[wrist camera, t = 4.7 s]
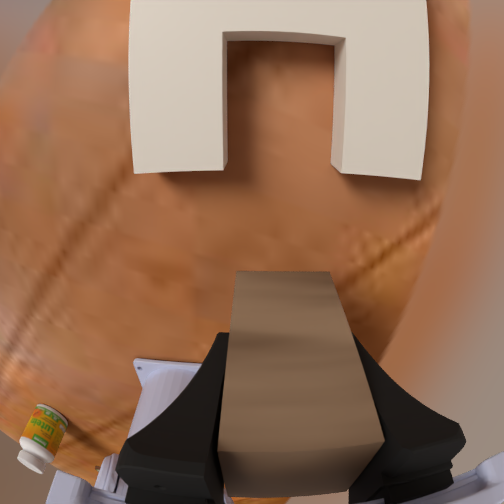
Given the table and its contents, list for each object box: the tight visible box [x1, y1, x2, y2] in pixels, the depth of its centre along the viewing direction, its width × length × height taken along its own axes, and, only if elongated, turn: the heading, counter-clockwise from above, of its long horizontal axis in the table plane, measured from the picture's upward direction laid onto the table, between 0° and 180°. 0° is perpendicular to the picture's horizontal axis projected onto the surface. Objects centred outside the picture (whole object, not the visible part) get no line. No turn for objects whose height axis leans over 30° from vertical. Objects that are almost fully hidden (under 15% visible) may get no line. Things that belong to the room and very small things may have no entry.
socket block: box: [129, 0, 429, 180], centre depth 13 cm, size 15×16×2 cm
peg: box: [217, 271, 385, 498], centre depth 12 cm, size 4×4×9 cm
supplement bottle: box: [18, 404, 68, 474], centre depth 28 cm, size 5×5×10 cm
